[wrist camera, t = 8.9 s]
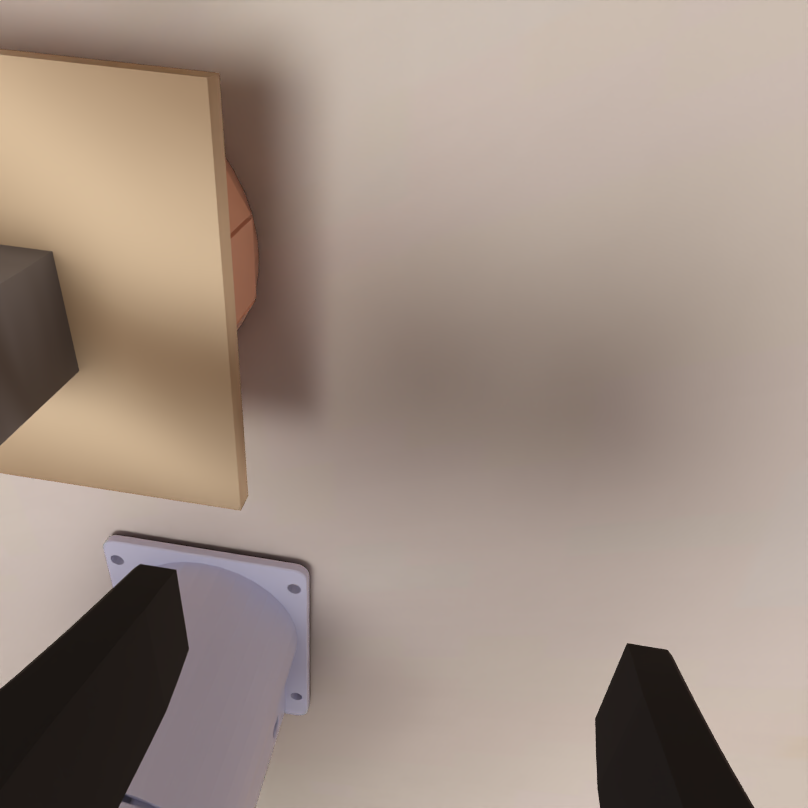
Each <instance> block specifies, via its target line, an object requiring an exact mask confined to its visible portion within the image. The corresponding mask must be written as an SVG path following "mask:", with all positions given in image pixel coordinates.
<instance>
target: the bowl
mask: <svg viewBox="0 0 808 808" xmlns="http://www.w3.org/2000/svg"><path fill="white" fill-rule="evenodd" d="M225 163H226V178H227V193H228V207H229V222H230V237H231V251H232V266H233V281H234V295H235V310H236V325H237V330H238V328H239V327H240V326H241V324H242V323H243V321H244V319H245V317H246V315H247V313H248V312H249V310H250V309H251V307H252V305H253V304H254V302H255V298H256V285H257V279H258V271H259V251H258V241H257V233H256V229H255V225H254V220H253V216H252V212H251V209H250V207H249V204H248V201H247V199H246V196H245V193H244V190H243V188H242V186H241V184H240V183H239V181H238V179H237V177H236V175H235V173H234V171H233V169H232V167H231V166H230V164H229V163H228V161H227V159H226V158H225Z"/></svg>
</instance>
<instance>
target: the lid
mask: <svg viewBox="0 0 808 808" xmlns="http://www.w3.org/2000/svg"><path fill="white" fill-rule="evenodd" d="M0 473H3V474H10V475H16V476H23V477H29V478H35V479H42V480H48V481H55V482H61V483H68V484H74V485H80V486H87V487H93V488H100V489H106V490H112V491H119V492H125V493H132V494H138V495H144V496H151V497H157V498H164V499H170V500H176V501H183V502H189V503H196V504H202V505H208V506H215V507H221V508H228V509H234V510H240V511H241V509H242V507H243V505H244V503H245V501H246V499H247V497H248V486H247V471H246V457H245V442H244V427H243V413H242V398H241V383H240V369H239V354H238V339H237V325H236V310H235V295H234V281H233V266H232V251H231V237H230V222H229V207H228V193H227V178H226V163H225V149H224V134H223V119H222V105H221V90H220V75H219V73H215V72H206V71H197V70H188V69H178V68H169V67H160V66H151V65H142V64H133V63H124V62H115V61H106V60H97V59H88V58H79V57H70V56H61V55H51V54H42V53H33V52H24V51H15V50H6V49H0Z"/></svg>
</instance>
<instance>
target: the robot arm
mask: <svg viewBox="0 0 808 808" xmlns="http://www.w3.org/2000/svg"><path fill="white" fill-rule="evenodd" d="M103 549H104V553H105V557H106V561H107V565H108V569H109V573H110V577H111V581H112V586H113V588H112V589H111V590H110V591H109V592H108V593H107V594H106V595H105V596H104V597H103V598H102V599H101V600H100V601H99V602H98V603H96V604H95V605H94V606H93V607H92V608H91V609H90V610H89V611H88V612H87V613H86V614H85V615H84V616H82V617H81V618H80V619H79V620H78V621H77V622H76V623H75V624H74V625H73V626H72V627H70V628H69V629H68V630H67V631H66V632H65V633H64V634H63V635H62V636H61V637H59V638H58V639H57V640H56V641H55V642H54V643H53V644H51V645H50V646H49V647H48V648H47V649H46V650H45V651H44V652H42V653H41V654H40V655H39V656H38V657H37V658H36V659H34V660H33V661H32V662H31V663H30V664H29V665H28V666H27V667H25V668H24V669H23V670H22V671H21V672H20V673H19V674H17V675H16V676H15V677H14V678H13V679H12V680H10V681H9V682H8V683H7V684H6V685H4V686H3V687H2V688H1V689H0V808H255V807H256V804H257V801H258V798H259V794H260V791H261V788H262V785H263V781H264V778H265V775H266V771H267V768H268V765H269V762H270V758H271V755H272V752H273V749H274V745H275V742H276V739H277V735H278V732H279V729H280V726H281V722H282V719H283V716H284V713H287V714H293V715H304V714H306V713H307V711H308V708H309V572H308V570H307V569H306V568H305V567H303V566H302V565H299V564H295V563H289V562H283V561H277V560H270V559H264V558H258V557H252V556H245V555H239V554H233V553H227V552H220V551H214V550H208V549H202V548H196V547H189V546H183V545H177V544H171V543H164V542H158V541H152V540H146V539H140V538H133V537H127V536H121V535H112V536H109V538H108V539H107V540H106V542H105V543H104V544H103ZM294 584H295V585H294ZM297 585H298V586H297ZM595 726H596V762H597V785H598V795H599V802H600V808H754V806H753V805H752V803H751V801H750V800H749V798H748V796H747V794H746V793H745V791H744V789H743V788H742V786H741V784H740V782H739V781H738V779H737V777H736V776H735V774H734V772H733V770H732V769H731V767H730V765H729V763H728V761H727V760H726V758H725V756H724V754H723V752H722V751H721V749H720V747H719V745H718V743H717V742H716V740H715V738H714V736H713V734H712V732H711V730H710V729H709V727H708V725H707V723H706V721H705V719H704V717H703V715H702V714H701V712H700V710H699V708H698V706H697V704H696V702H695V700H694V698H693V696H692V694H691V692H690V690H689V688H688V687H687V685H686V683H685V681H684V679H683V677H682V675H681V673H680V671H679V669H678V667H677V665H676V663H675V661H674V659H673V657H672V655H671V654H670V653H669V651H668V650H665V649H659V648H653V647H647V646H640V645H634V644H628V643H627V645H626V647H625V649H624V652H623V654H622V657H621V659H620V661H619V664H618V666H617V668H616V671H615V673H614V676H613V678H612V680H611V683H610V685H609V687H608V690H607V692H606V694H605V697H604V699H603V702H602V704H601V706H600V709H599V711H598V713H597V716H596V718H595Z"/></svg>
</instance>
